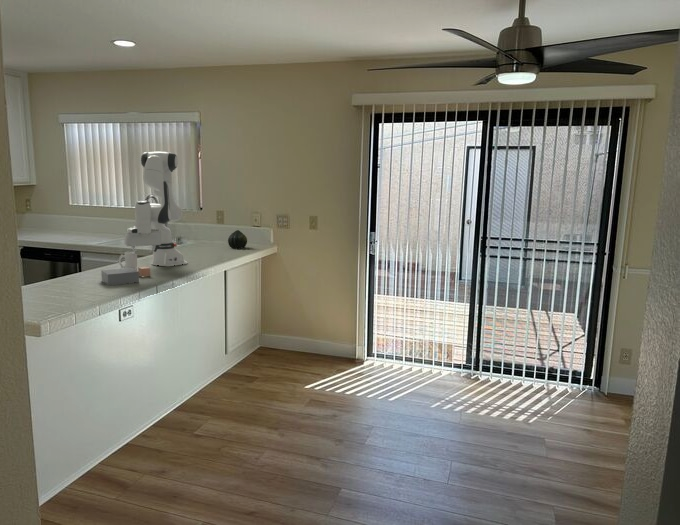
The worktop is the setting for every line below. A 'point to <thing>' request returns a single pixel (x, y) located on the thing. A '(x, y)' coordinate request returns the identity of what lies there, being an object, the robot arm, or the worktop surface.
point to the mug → (129, 260)
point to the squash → (237, 240)
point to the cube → (144, 271)
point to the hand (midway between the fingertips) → (143, 253)
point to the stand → (120, 276)
